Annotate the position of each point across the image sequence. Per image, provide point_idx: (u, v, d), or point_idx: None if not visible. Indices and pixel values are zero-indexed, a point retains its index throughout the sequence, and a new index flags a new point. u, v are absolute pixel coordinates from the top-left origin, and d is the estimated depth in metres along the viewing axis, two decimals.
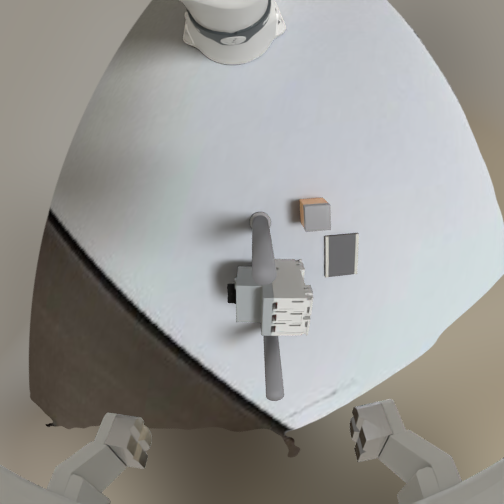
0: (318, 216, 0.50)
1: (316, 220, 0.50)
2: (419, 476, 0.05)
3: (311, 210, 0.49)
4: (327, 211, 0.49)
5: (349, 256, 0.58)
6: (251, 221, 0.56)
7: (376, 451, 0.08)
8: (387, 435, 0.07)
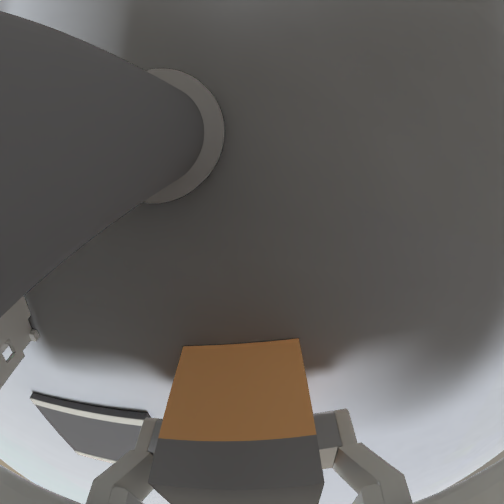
0: None
1: None
2: (364, 493, 0.05)
3: (293, 499, 0.06)
4: None
5: (110, 453, 0.15)
6: (160, 77, 0.07)
7: (328, 461, 0.08)
8: (336, 446, 0.07)
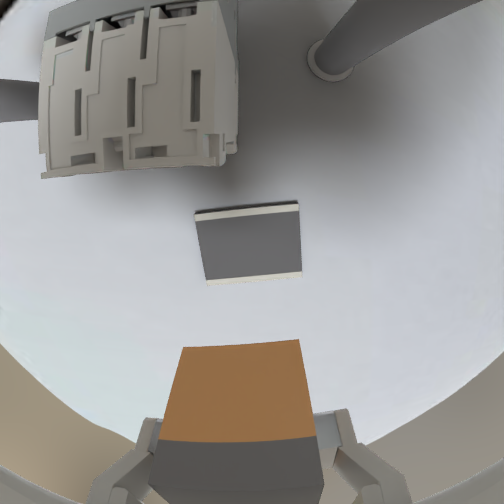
0: None
1: None
2: (364, 493, 0.05)
3: (293, 500, 0.06)
4: None
5: (249, 263, 0.27)
6: None
7: (328, 461, 0.08)
8: (336, 446, 0.07)
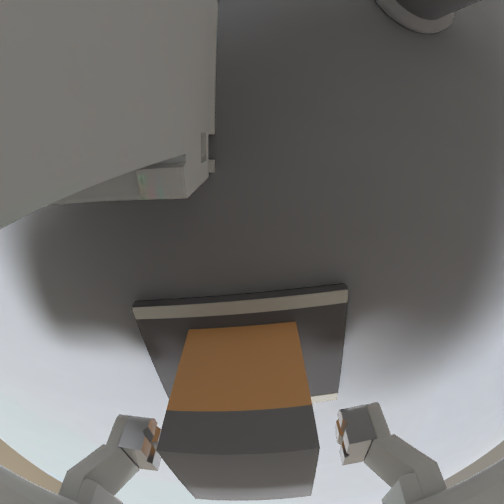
0: (256, 482, 0.07)
1: (231, 479, 0.07)
2: (402, 482, 0.05)
3: (292, 467, 0.07)
4: (281, 495, 0.08)
5: None
6: None
7: (361, 455, 0.08)
8: (371, 439, 0.07)
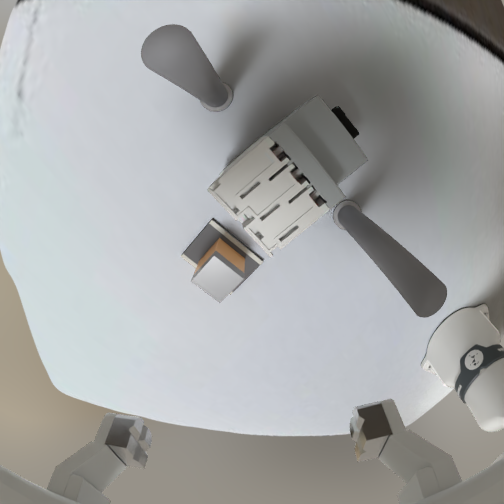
0: (218, 282, 0.35)
1: (216, 276, 0.34)
2: (419, 476, 0.05)
3: (232, 281, 0.35)
4: (215, 295, 0.35)
5: None
6: (358, 209, 0.37)
7: (376, 451, 0.08)
8: (387, 435, 0.07)
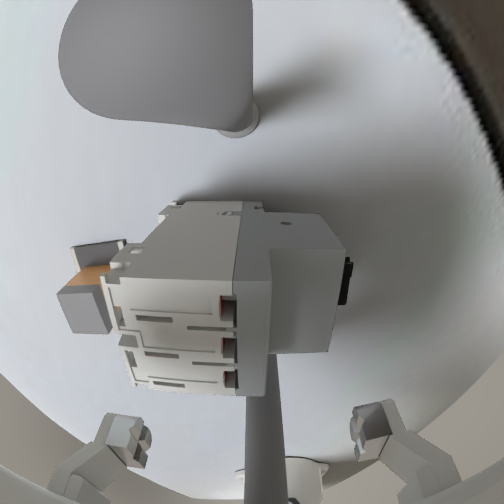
0: (82, 317, 0.24)
1: (82, 310, 0.23)
2: (419, 476, 0.05)
3: (96, 327, 0.24)
4: (72, 324, 0.24)
5: None
6: None
7: (376, 451, 0.08)
8: (387, 435, 0.07)
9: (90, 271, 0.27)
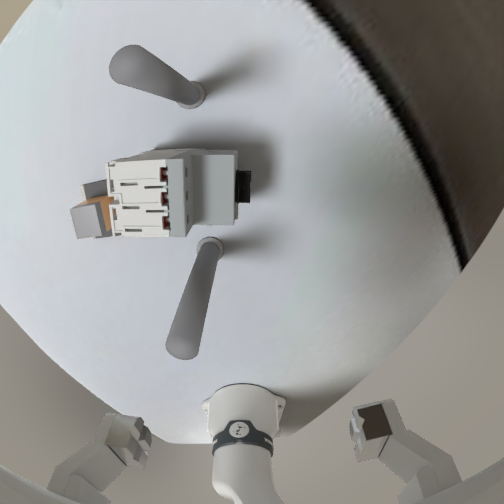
0: (85, 224, 0.36)
1: (86, 219, 0.36)
2: (419, 476, 0.05)
3: (94, 231, 0.36)
4: (78, 231, 0.36)
5: None
6: (220, 252, 0.44)
7: (376, 451, 0.08)
8: (387, 435, 0.07)
9: (93, 199, 0.39)
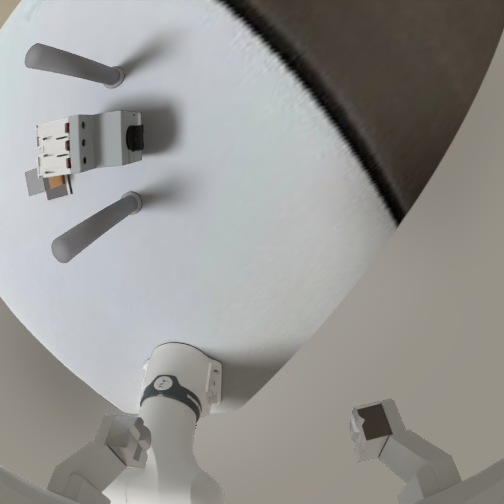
0: (34, 183, 0.40)
1: (35, 179, 0.39)
2: (419, 476, 0.05)
3: (40, 188, 0.40)
4: (29, 189, 0.40)
5: None
6: (138, 204, 0.47)
7: (376, 451, 0.08)
8: (387, 435, 0.07)
9: None
